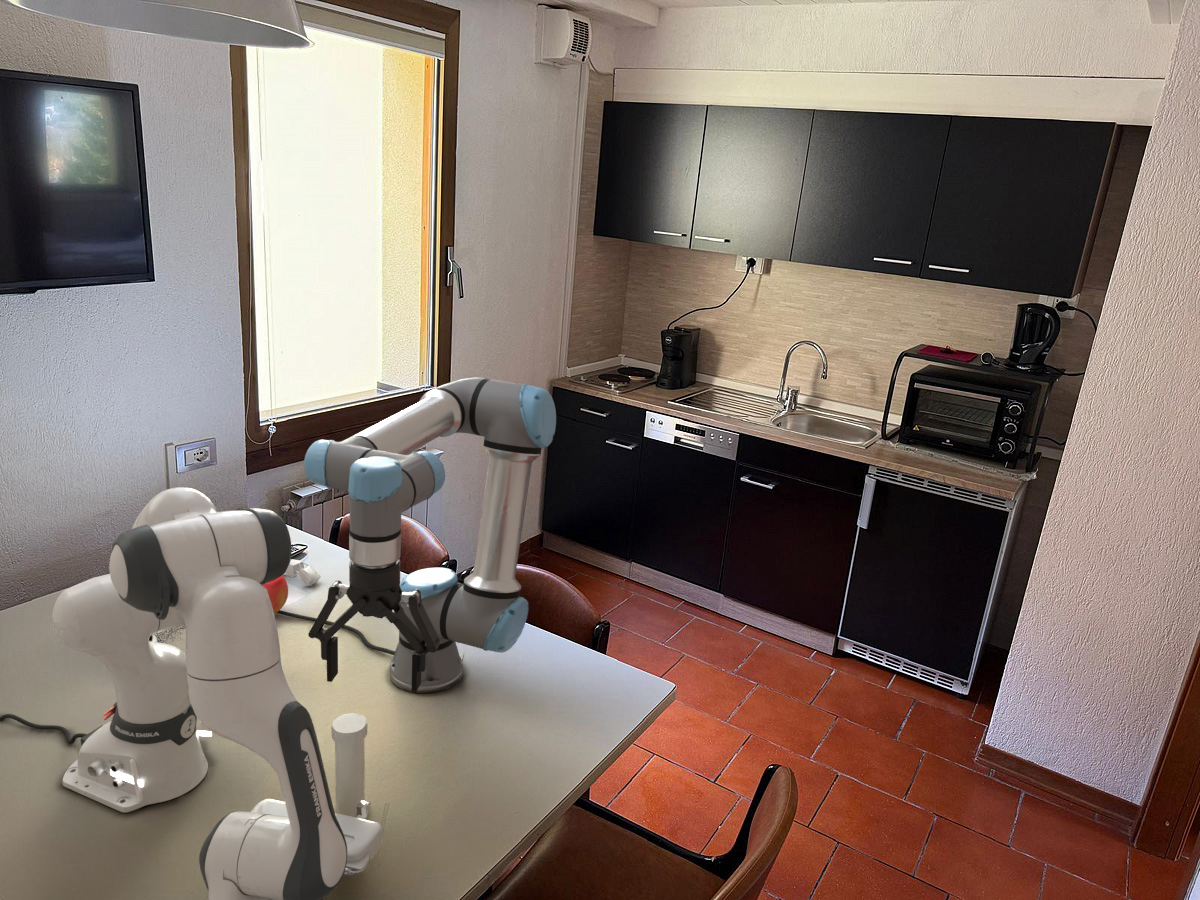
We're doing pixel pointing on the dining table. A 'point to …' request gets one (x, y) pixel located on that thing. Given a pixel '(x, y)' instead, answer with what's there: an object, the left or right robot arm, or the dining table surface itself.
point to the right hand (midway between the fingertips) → (374, 682)
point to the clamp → (302, 572)
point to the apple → (277, 592)
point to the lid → (349, 729)
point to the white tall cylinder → (349, 777)
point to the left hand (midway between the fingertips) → (338, 798)
